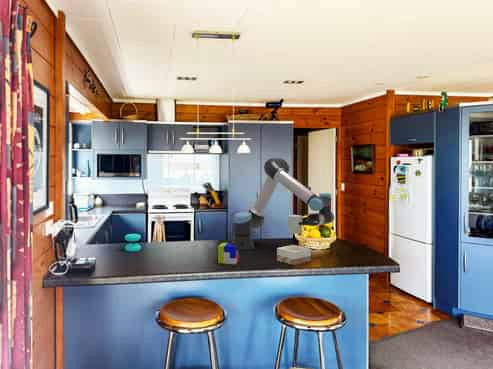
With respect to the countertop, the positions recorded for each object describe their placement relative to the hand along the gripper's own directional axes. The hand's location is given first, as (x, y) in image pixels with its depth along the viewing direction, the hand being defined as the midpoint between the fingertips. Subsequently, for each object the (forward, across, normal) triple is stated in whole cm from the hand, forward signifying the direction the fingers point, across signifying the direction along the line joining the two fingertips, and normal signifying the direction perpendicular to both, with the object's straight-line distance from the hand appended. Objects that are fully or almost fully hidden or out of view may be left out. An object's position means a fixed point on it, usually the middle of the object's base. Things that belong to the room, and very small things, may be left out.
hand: (289, 223), depth 237 cm
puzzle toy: (+25, +24, -23) cm, 42 cm away
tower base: (-4, 0, -23) cm, 24 cm away
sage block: (-5, 0, -6) cm, 8 cm away
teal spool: (+54, +86, -22) cm, 104 cm away
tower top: (-4, 0, -19) cm, 20 cm away
